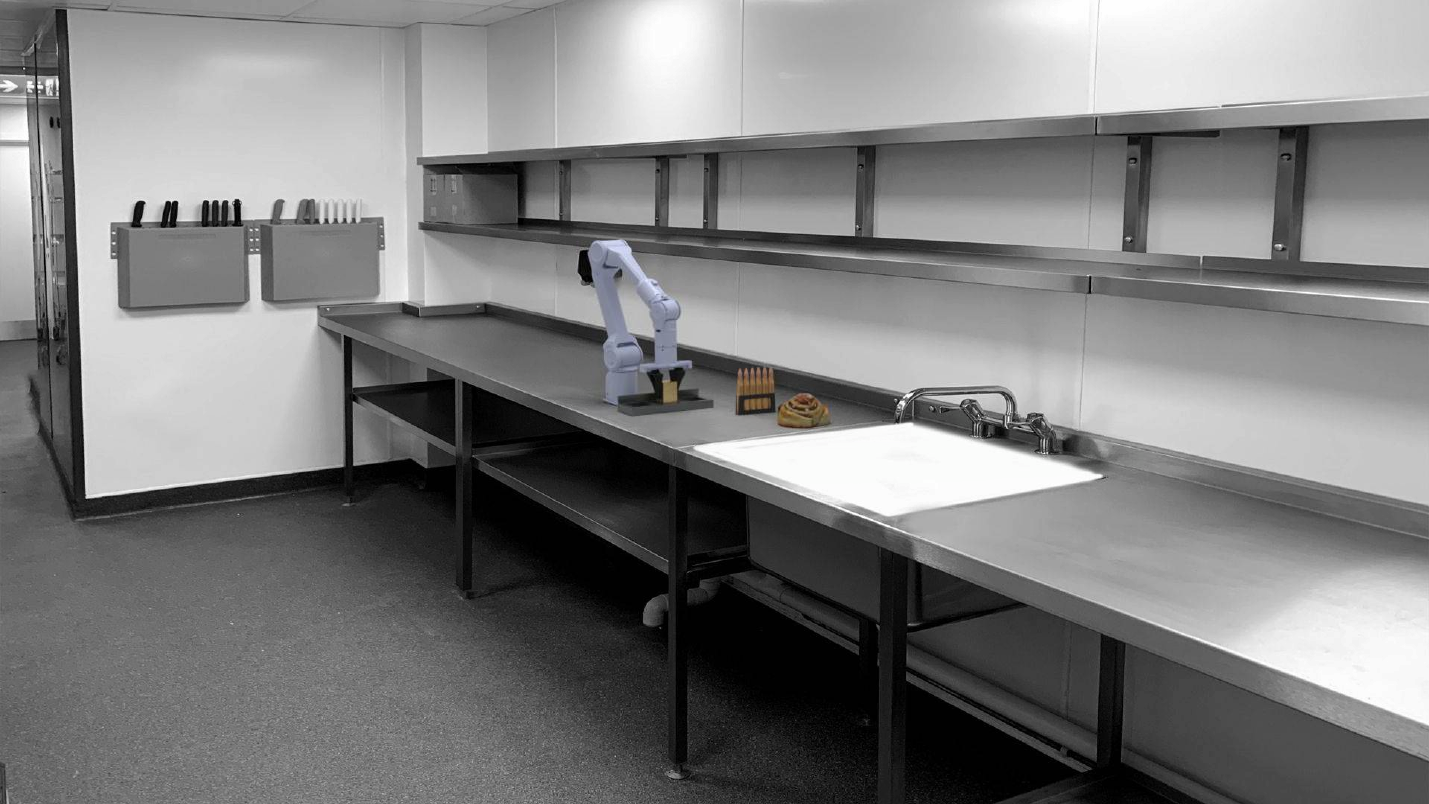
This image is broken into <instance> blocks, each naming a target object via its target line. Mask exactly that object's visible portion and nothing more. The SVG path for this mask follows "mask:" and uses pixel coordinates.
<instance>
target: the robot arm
mask: <svg viewBox="0 0 1429 804" xmlns="http://www.w3.org/2000/svg"><path fill="white" fill-rule="evenodd" d="M632 252H633V250H632V248H631V246H629V244H628V243H627V241H625V239H615V240H613V239H612V240H594V241H593V242H592V243H591V245H590V247H589V250H588V251H587V256H588V261H589V263H590V267H591V276H592V277H591V278H592V281H593V284H594V287H595V288H594V289H595V292H596V297H597V300H598V303H599V307H600V312H601V315H602V318H603V322H604V326H605V329H606V333H607V339H606V340H605V342H604V343H603V345H602V349H603V362H604V365H605V367H606V368H607V370H608V371H607V373H606V375H605V398H603V399H602V401H603V402H606V403H609V404H612V405H615V406H618V398H617V396H622V395H632V394H638V370H639V373H642V374H643V373H645V374H646V375H647V377H648V379H649V380H650V382H651V384H652V388H653V392H655V396H656V398H658V399H661V398H662V380H663V378H664V373H662V372H661V371H668V373H669V374H668V375H669V380H673V381H676V382H677V395H678V390H680V386H681V384H682V382H683V379H684V377H685V375H686V370H685V369H693V361H692V360H678V355H677V353H678V352H677V351H678V349H677V345H678V344H677V342H678V341H677V321H678V320H679V319H680V317H681V314H682V307H681V305H680V303H679V302H678V300H677V299H675V298H671V297H669V295H667V294H666V293H665V292H664V290H663V289H662V288H661V287H660V285H659V282H658V281H657V280H656V279H653V278H648V277H647V275H646V274H645V273H644V272H643V270H642V268H641V267H640V265H639V264H638V262H637V261H636V259H635V258H634V256H633V255H632V254H633V253H632ZM620 269H621V270H622V272H623V273H624V274H625V275H626V276H627V277H628V278H629V279H630V280H631V281H632V283H633V284H634V285H635V286H636V294H637V295H638V296H639V298H640V299H641V300H642V302H643V303H644V304H645V305H646V307H647V308H648V309H649V310H650V311H649V310H648V311H649V312H648V313H649V318H650V319H651V321H652V328H653V329H654V362H649V363H643V360H644V353H643V350H642V348H641V346H640V345H639V343H638V340H637V338H636V337H635V336H634V335H632V334H631V333H630V332H629V330H628V327H627V323H626V320H625V316H624V313H623V308H622V304H621V302H620V297H619V294H618V290H617V289H618V288H617V286H616V282H615V279H614V277H615V275H616V273H618V271H619V270H620ZM642 363H643V364H642Z"/></svg>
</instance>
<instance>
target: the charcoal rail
mask: <svg viewBox="0 0 1429 804" xmlns="http://www.w3.org/2000/svg"><path fill="white" fill-rule="evenodd" d="M617 398H618V405H617V411H618V412H620V413H623V414H626V415H628V416H631V417H635V416H636V417H637V416H646V415H655V414H665V413H673V412H674V413H675V412H680V411H684V412H685V411H692V410H701V409H710V408H714V407H715V406H714V404H715V403H714V399H712V398H708V397H704V396H702V395H699V387H694V388H684V389H683V388H682V389H679V390H678V395H677V403H670V404H660V403H657V398H656V396H655V392H654V391H653V392H644V393H642V392H641V393H637V394H632V395H622V396H617Z"/></svg>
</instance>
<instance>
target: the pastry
mask: <svg viewBox="0 0 1429 804" xmlns="http://www.w3.org/2000/svg"><path fill="white" fill-rule="evenodd" d="M776 418H777V419H776V420H777V425H778V426H780V427H782V428H787V429H811V428H813V427H821V426H826V425H828V424H830V420H831V419H830V412H829V408H828V405H827V404H826V403H824V404H823V403H821V401H819V400H818V398H816V397H815V396H814V395H812V394H811V393H808V392H807V393H799V394H796V395H795V396H793V397H792V398H790V399H788V400H786V402H784V403H781V404H779V405H778V406H777V417H776Z"/></svg>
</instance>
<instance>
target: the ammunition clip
mask: <svg viewBox="0 0 1429 804" xmlns="http://www.w3.org/2000/svg"><path fill="white" fill-rule="evenodd" d="M737 374H738V375H737V384H736V395H735V415H737V416H746V415H748V416H749V415H759V414H768V413H769V414H770V413H771V414H772V413H776V412H777V410H776V392H775V380H774V370H773V366H770V367H769V370H768V371H767V368H766V366H764V367H763V370H762V373H761V368H760V367H759V366H758V367H757V368H756V373H755V369H754V367H751V369H750V374H749V371H748V368H747V367H745V369H744V373H743V372H742V369H741V368H739V369H738V372H737ZM761 374H762V375H761ZM749 375H750V376H749Z"/></svg>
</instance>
